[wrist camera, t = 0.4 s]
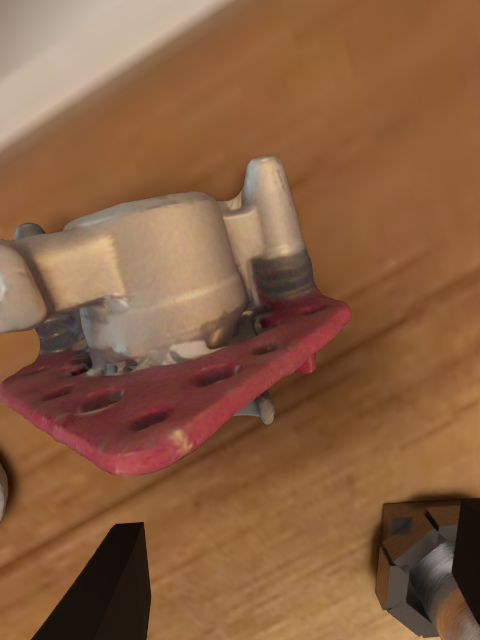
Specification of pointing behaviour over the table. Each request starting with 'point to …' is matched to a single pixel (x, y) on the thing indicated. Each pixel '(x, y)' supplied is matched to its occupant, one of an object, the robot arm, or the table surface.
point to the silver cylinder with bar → (443, 595)
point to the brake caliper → (163, 319)
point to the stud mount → (411, 555)
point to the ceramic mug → (3, 491)
